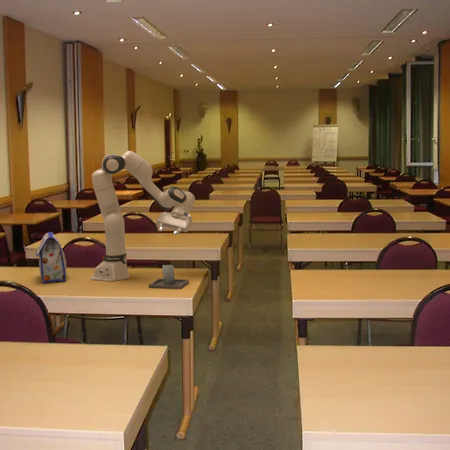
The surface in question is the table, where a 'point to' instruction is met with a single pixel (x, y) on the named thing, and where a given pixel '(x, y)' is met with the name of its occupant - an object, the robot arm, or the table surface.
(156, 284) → the tray
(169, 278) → the grey upright cylinder
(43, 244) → the lunch bag
